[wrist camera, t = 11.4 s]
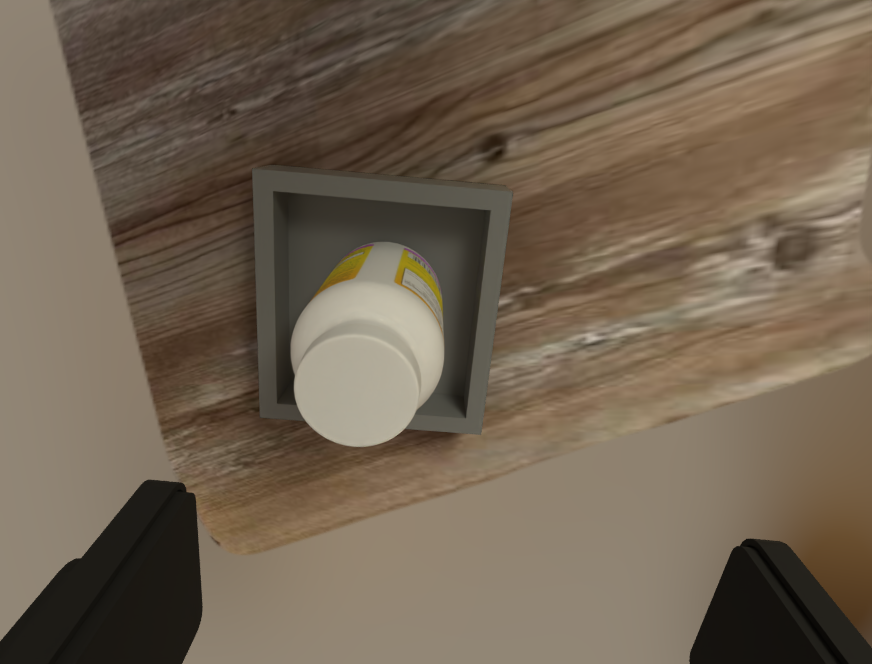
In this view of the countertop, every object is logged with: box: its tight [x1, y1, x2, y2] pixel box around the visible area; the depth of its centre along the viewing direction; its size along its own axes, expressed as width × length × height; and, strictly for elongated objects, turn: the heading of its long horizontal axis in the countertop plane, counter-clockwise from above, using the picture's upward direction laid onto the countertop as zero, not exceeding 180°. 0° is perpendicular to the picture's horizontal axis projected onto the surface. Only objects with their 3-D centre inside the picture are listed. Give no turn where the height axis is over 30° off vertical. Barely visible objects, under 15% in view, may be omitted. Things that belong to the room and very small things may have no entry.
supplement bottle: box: [291, 242, 444, 447], centre depth 26 cm, size 7×7×13 cm
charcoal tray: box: [252, 165, 513, 435], centre depth 31 cm, size 14×13×4 cm
